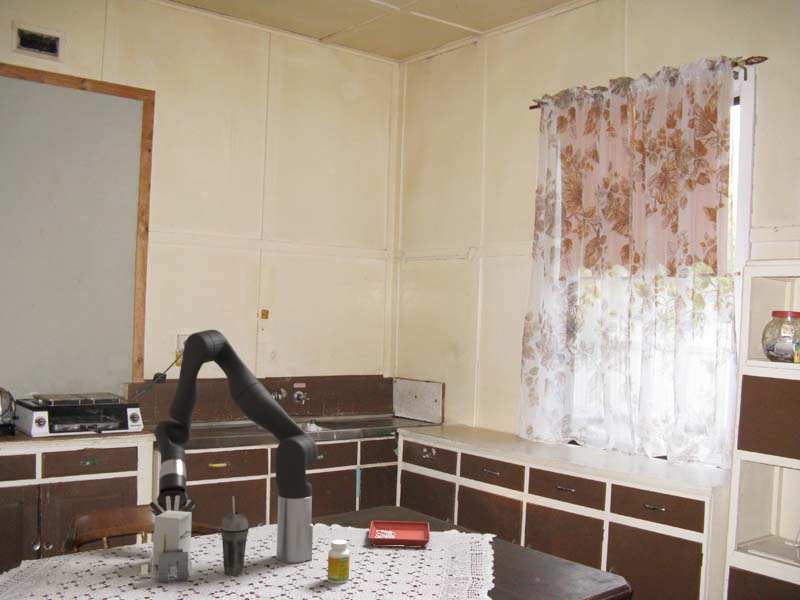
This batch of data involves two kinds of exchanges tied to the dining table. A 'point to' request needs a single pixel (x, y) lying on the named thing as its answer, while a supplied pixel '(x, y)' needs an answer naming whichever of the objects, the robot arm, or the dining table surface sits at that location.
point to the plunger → (173, 564)
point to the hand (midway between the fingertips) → (172, 533)
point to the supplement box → (172, 532)
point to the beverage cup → (234, 542)
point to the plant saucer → (400, 533)
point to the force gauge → (163, 567)
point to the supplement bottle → (338, 562)
